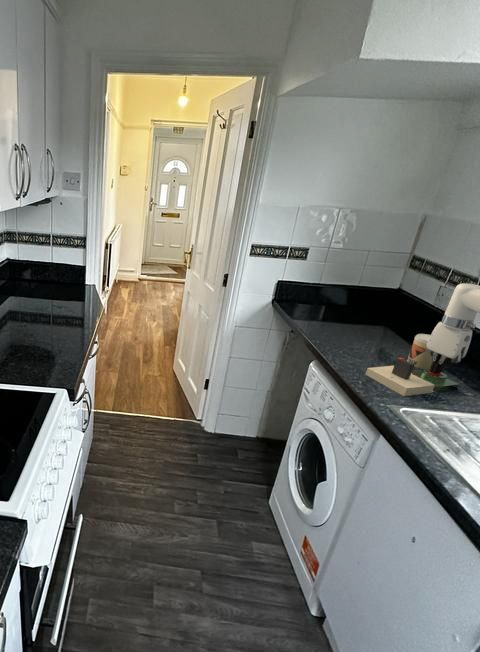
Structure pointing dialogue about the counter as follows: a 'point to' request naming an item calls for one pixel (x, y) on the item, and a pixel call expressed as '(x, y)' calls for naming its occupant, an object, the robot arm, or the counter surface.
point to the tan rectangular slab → (400, 381)
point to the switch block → (436, 380)
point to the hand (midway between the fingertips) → (434, 372)
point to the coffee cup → (420, 352)
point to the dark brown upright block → (403, 368)
